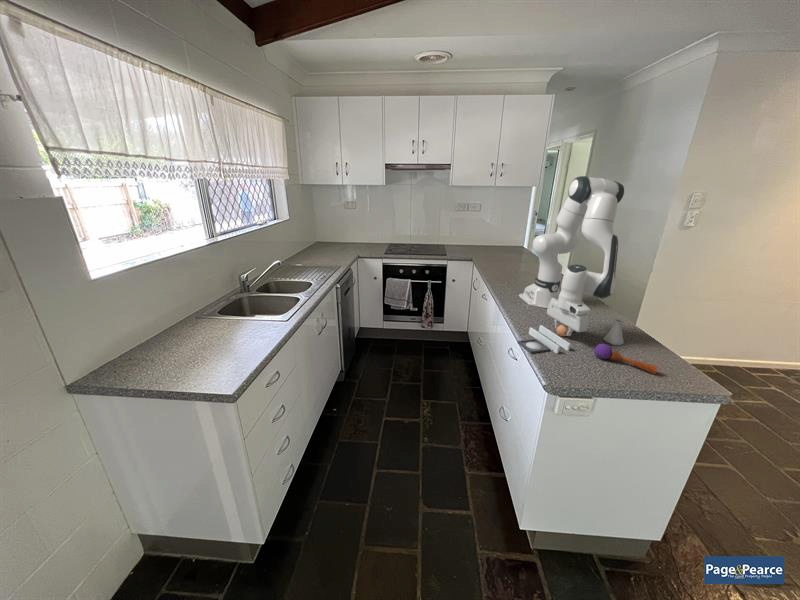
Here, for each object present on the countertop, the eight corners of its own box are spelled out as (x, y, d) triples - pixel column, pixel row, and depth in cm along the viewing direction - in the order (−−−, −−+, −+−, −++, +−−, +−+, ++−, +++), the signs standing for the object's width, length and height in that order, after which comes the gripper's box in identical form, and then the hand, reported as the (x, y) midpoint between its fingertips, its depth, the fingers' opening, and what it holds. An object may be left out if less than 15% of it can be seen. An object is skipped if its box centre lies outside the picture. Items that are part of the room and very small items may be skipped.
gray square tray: (517, 342, 136) (517, 340, 136) (535, 340, 139) (536, 338, 138) (531, 353, 128) (531, 351, 128) (550, 351, 130) (550, 348, 130)
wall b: (528, 333, 145) (529, 327, 144) (530, 333, 145) (531, 327, 144) (556, 353, 128) (558, 347, 127) (558, 353, 129) (559, 346, 128)
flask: (613, 346, 135) (619, 325, 131) (599, 338, 142) (605, 318, 138) (627, 344, 137) (633, 323, 133) (612, 337, 143) (618, 316, 140)
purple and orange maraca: (658, 369, 113) (595, 346, 124) (651, 381, 116) (590, 358, 127) (660, 359, 116) (598, 338, 127) (654, 371, 120) (594, 350, 131)
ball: (552, 333, 145) (555, 323, 143) (562, 332, 146) (564, 322, 145) (560, 338, 141) (563, 328, 139) (570, 337, 142) (572, 327, 140)
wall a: (538, 331, 147) (539, 325, 146) (540, 331, 147) (541, 325, 146) (567, 350, 131) (569, 344, 130) (569, 350, 131) (570, 344, 130)
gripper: (546, 295, 146) (541, 322, 151) (581, 312, 128) (573, 343, 133) (558, 294, 148) (552, 321, 153) (594, 311, 130) (586, 341, 135)
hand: (562, 332), depth 143 cm, fingers closed on ball, 5 cm apart
